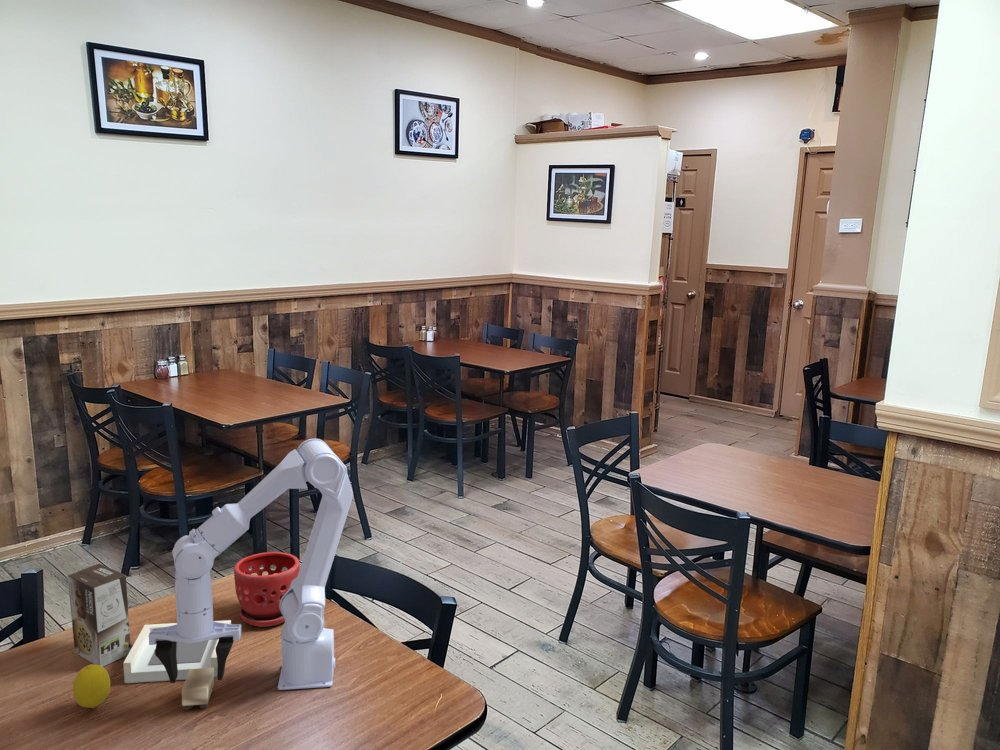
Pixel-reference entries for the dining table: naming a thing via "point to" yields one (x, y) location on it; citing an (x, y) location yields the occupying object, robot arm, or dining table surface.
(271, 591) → the plant pot
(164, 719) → the dining table surface
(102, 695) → the lemon
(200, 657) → the dock
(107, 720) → the dining table surface
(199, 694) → the cream rectangular block
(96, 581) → the coffee box
